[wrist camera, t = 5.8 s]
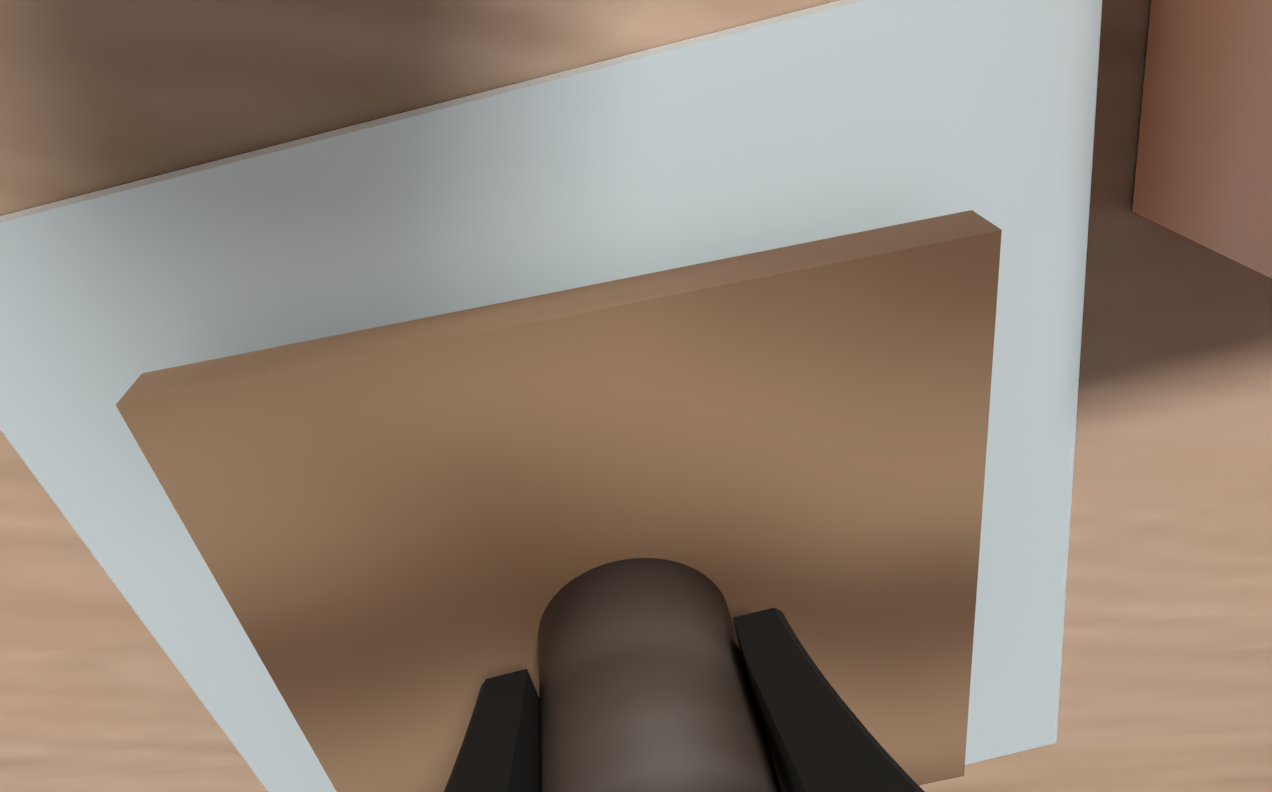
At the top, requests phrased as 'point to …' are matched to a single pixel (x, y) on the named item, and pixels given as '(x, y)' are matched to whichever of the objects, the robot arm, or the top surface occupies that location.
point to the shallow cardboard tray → (1209, 126)
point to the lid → (610, 509)
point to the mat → (581, 278)
